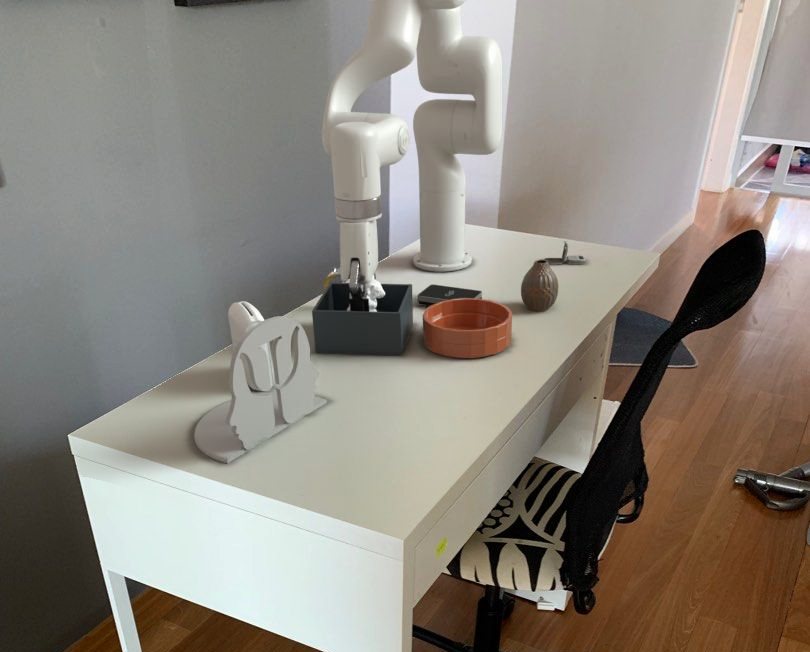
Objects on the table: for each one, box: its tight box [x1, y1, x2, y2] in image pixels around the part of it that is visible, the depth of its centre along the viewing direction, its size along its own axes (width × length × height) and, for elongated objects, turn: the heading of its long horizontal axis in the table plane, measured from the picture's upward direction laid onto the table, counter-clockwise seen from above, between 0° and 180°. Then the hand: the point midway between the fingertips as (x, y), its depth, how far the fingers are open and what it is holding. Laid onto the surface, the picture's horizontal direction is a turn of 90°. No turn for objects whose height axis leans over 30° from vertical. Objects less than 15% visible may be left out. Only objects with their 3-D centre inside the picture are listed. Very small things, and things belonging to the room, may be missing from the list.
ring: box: [323, 264, 350, 292], centre depth 161 cm, size 7×3×8 cm, turn 68°
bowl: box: [422, 298, 513, 359], centre depth 148 cm, size 15×15×5 cm
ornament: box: [193, 315, 328, 464], centre depth 123 cm, size 22×13×17 cm, turn 145°
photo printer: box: [227, 300, 275, 391], centre depth 136 cm, size 10×4×12 cm, turn 26°
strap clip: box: [543, 240, 587, 265], centre depth 181 cm, size 8×3×4 cm, turn 87°
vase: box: [520, 259, 559, 312], centre depth 159 cm, size 7×7×9 cm
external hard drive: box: [416, 283, 483, 307], centre depth 164 cm, size 7×11×2 cm, turn 64°
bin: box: [311, 282, 414, 357], centre depth 149 cm, size 14×15×8 cm
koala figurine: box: [347, 275, 385, 312], centre depth 147 cm, size 8×7×12 cm
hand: (364, 312), depth 149 cm, fingers closed on koala figurine, 6 cm apart
